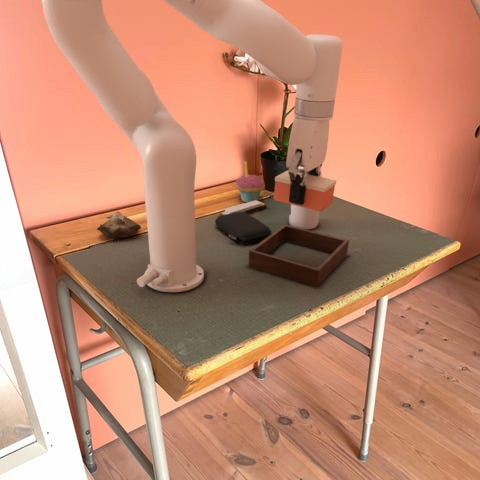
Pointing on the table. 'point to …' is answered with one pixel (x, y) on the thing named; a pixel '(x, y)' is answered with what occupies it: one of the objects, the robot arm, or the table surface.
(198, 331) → the table surface
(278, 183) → the lunchbox
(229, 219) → the carrying case
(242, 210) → the harmonica
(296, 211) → the milk bottle
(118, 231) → the fossilized seashell
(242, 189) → the cupcake
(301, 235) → the wooden box
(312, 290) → the table surface
